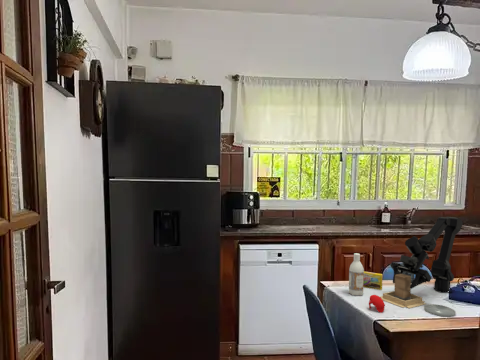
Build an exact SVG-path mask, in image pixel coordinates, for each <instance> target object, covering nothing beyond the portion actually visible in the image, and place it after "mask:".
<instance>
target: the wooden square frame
mask: <svg viewBox="0 0 480 360" xmlns="http://www.w3.org/2000/svg"><path fill="white" fill-rule="evenodd" d="M379 297H380V298H381V299H382V300H383V302H386V303H389V304H392V305H395V306H397V307H400V308H403V309H404V308H406V309H407V308H408V309H413V308H417V307H420V306H425V305H427V302H425V300H423V297H422V296H420V295H416V294H413V293H411V300H407V301H404V300H401V299H399V298H396V297H394V290H393V291H389V292H383V293H382V295H381V296H379Z"/></svg>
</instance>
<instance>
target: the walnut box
mask: <svg viewBox="0 0 480 360" xmlns="http://www.w3.org/2000/svg"><path fill="white" fill-rule="evenodd" d="M411 284H412V283H411V276H408V275H405V274H397V275H395V283H394V289H393V291H394V297H396V298H399V299H401V300H404V301H407V300H411V294H412V293H411V292H412V291H411V290H412V289H410V286H411Z"/></svg>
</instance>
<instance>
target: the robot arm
mask: <svg viewBox="0 0 480 360" xmlns="http://www.w3.org/2000/svg"><path fill="white" fill-rule="evenodd" d="M434 223H435V224H433V226H432V227H431V228H430V229H429V231H428V232H427V234H425V235H422V236H421V237H420V238H418V237H417V236H415V235H413V236H412V237H410V238H407V239H406V240H405V241H404V245H405V246H406V249H407V250H409V253H411V254H412V255H411V256H407V255H404V254H402V255H401V256H400V259H399V262H396V261H393V262H392V261H391V263H390V267H391V269H392V270H393V277H392V283H393V284H395V275H397V274H402V273H403V272H407V273H411V274H414V280H413V282H412V283H411V286H410V289H411V290H412V289H414V288H416V287H418V286H419V285H422V284H424V283H425V284H426V283H430V282H431V280H432V278H434V279H435V280H434V287H432V289H433V290H435V291H437V292H439V293H449V292H448V291H449V288H450V289H451V282H453V281H454V279H455V276H454V274H453V273H452V267H451V264H450V258H451V253H452V250H453V246H454V243H455V238H456V236H457V234H458V233H460V232H461V229H462V226H463V223H464V222H463V221H462V220H461V218H458V217H453V216H452V217H451V216H446V217H441V216H440V217H438V218H437V219H436V221H435V222H434ZM443 232H444V234H443ZM442 234H443V238H442V242H441V245H440V246H441V247H440V250H439V254H438V258H436V260H435V259H433V261H432V264H431V267H430V272H431V274H430V273H429V272H428V270H426V269H423V267H424V266H423V264H424V262H425V260H429V259H430V257H429V253H431V252H433V251H434V250H435V249H436V246H437V240H438V239H439V238H440V236H441V235H442ZM427 252H429V253H427ZM401 263H403V265H404V266H405V268H404V267H402V266H401V265H400V264H401Z"/></svg>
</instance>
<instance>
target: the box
mask: <svg viewBox="0 0 480 360" xmlns="http://www.w3.org/2000/svg"><path fill="white" fill-rule="evenodd" d="M400 265H401V266H402V267H404V268H405V266H404V265H403V263H402V262H400ZM402 274H405V275H408V276H411V284H412V282H413V280H414V279H415V274H411V273H407V272H403V273H402Z"/></svg>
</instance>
